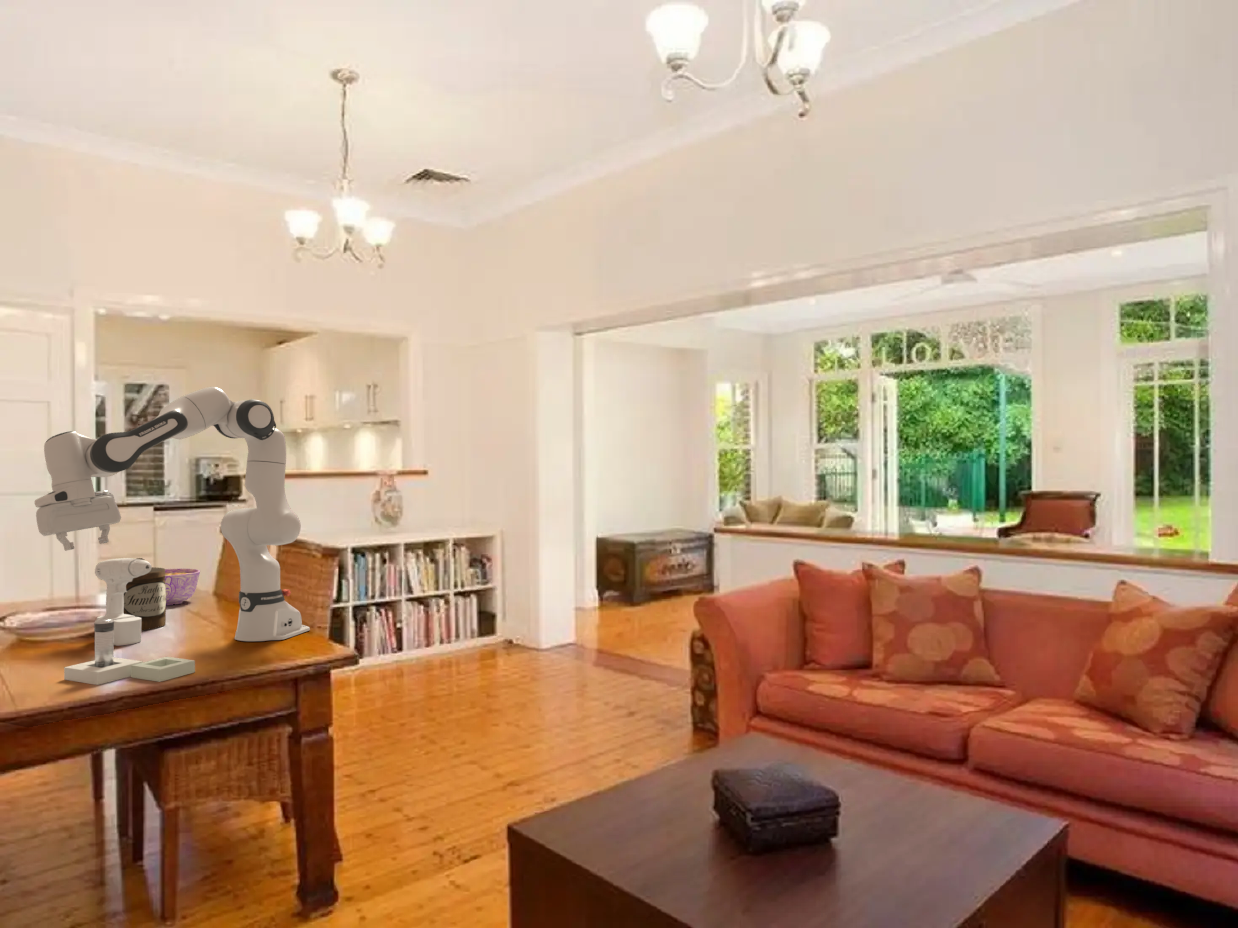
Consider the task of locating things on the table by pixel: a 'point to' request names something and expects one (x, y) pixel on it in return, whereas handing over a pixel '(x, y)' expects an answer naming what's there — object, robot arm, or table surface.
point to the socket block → (99, 671)
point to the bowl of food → (180, 584)
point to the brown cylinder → (147, 598)
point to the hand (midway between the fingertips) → (87, 546)
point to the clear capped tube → (104, 642)
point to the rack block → (162, 669)
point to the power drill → (121, 596)
